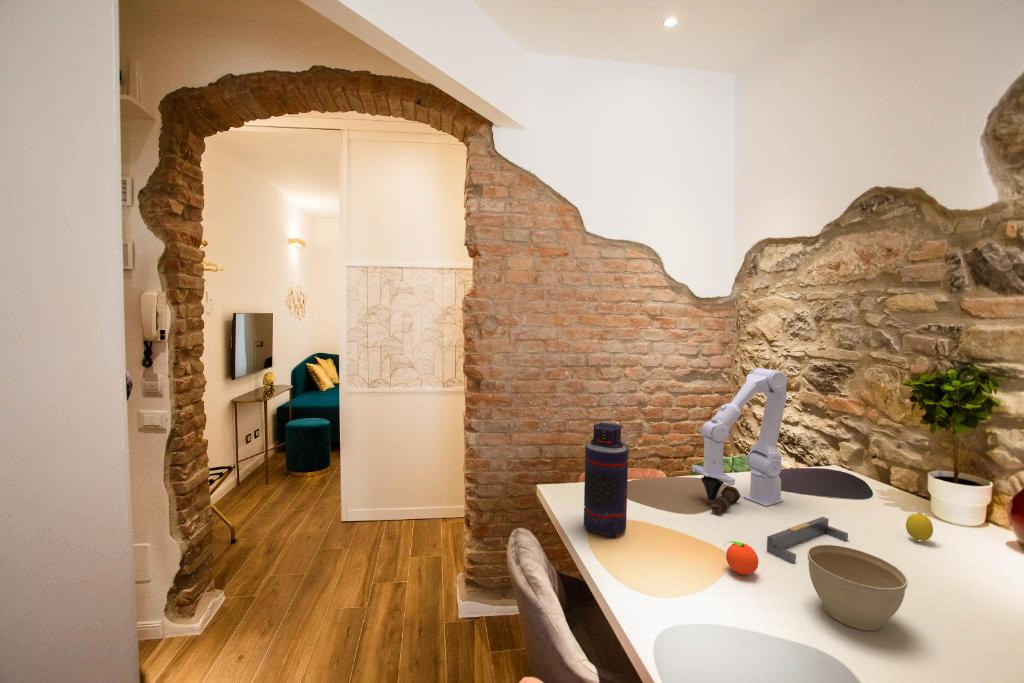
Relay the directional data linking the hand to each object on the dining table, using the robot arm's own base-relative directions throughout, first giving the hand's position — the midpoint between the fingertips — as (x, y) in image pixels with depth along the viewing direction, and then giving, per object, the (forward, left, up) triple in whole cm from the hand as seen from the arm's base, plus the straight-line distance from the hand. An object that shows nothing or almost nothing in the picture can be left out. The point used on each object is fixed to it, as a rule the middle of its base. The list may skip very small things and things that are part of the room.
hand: (711, 499), depth 147 cm
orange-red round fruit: (+28, +30, -2) cm, 41 cm away
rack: (0, +30, -1) cm, 30 cm away
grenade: (+42, -2, -2) cm, 42 cm away
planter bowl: (+22, +51, -2) cm, 55 cm away
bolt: (-1, +4, -2) cm, 4 cm away
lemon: (-30, +43, -2) cm, 52 cm away
